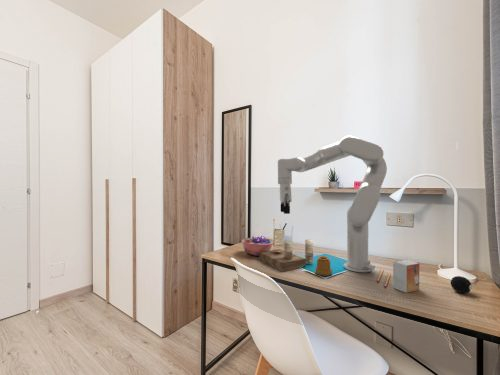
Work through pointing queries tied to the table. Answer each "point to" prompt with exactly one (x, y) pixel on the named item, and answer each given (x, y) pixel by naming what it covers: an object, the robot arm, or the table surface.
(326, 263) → the ornamental finial
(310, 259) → the birch leg
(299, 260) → the brown block with hole
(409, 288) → the small box
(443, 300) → the table surface
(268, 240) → the cell model
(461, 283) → the billiard ball
